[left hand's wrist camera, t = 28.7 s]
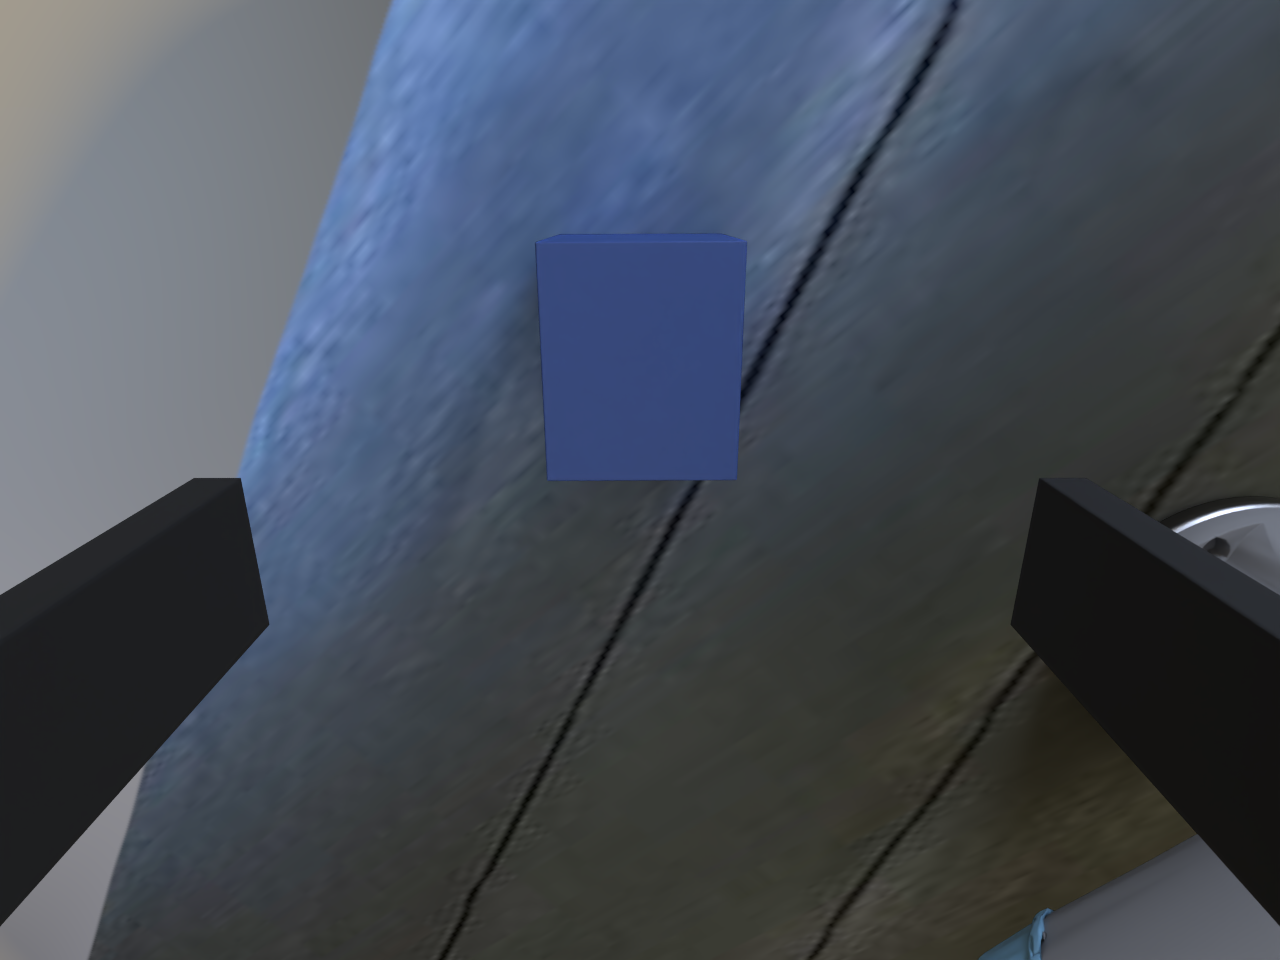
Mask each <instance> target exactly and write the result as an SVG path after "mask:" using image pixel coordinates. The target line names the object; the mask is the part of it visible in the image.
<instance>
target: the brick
mask: <svg viewBox="0 0 1280 960" xmlns="http://www.w3.org/2000/svg"><path fill="white" fill-rule="evenodd" d="M535 250H536V270H537V290H538V310H539V330H540V350H541V370H542V390H543V410H544V430H545V450H546V470H547V480H548V481H635V480H736V479H737V463H738V440H739V416H740V393H741V370H742V346H743V323H744V300H745V276H746V253H747V241H744V240H741V239H738V238H734V237H731V236H728V235H724V234H560V235H556V236H553V237H550V238H547V239H544V240H541V241H537V242H536V243H535Z"/></svg>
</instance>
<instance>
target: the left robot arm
mask: <svg viewBox="0 0 1280 960" xmlns="http://www.w3.org/2000/svg"><path fill="white" fill-rule="evenodd" d="M268 626H269V620H268V615H267V610H266V605H265V600H264V595H263V590H262V585H261V579H260V574H259V569H258V564H257V559H256V554H255V549H254V544H253V539H252V533H251V528H250V523H249V518H248V513H247V508H246V503H245V498H244V493H243V488H242V482H241V478H193V479H192V480H190V481H188V482H187V483H185V484H184V485H182V486H180V487H179V488H177V489H175V490H174V491H172V492H170V493H169V494H167V495H165V496H164V497H162V498H160V499H159V500H157V501H155V502H154V503H152V504H151V505H149V506H147V507H145V508H144V509H142V510H140V511H139V512H137V513H136V514H134V515H132V516H131V517H129V518H127V519H126V520H124V521H122V522H121V523H119V524H117V525H116V526H114V527H112V528H111V529H109V530H107V531H106V532H104V533H102V534H101V535H99V536H97V537H96V538H94V539H93V540H91V541H89V542H87V543H86V544H84V545H82V546H81V547H79V548H77V549H76V550H74V551H73V552H71V553H69V554H68V555H66V556H64V557H63V558H61V559H59V560H58V561H56V562H54V563H53V564H51V565H49V566H48V567H46V568H44V569H43V570H41V571H39V572H38V573H36V574H35V575H33V576H31V577H29V578H28V579H26V580H24V581H23V582H21V583H20V584H18V585H16V586H15V587H13V588H11V589H10V590H8V591H6V592H5V593H3V594H1V595H0V926H1V925H2V924H3V923H4V922H5V920H6V919H7V918H8V917H9V916H10V915H11V914H12V913H13V911H14V910H15V909H16V908H17V907H18V906H19V905H20V904H21V902H22V901H23V900H24V899H25V898H26V897H27V896H28V895H29V893H30V892H31V891H32V890H33V889H34V888H35V887H36V886H37V885H38V883H39V882H40V881H41V880H42V879H43V878H44V877H45V875H46V874H47V873H48V872H49V871H50V870H51V869H52V868H53V867H54V865H55V864H56V863H57V862H58V861H59V860H60V859H61V858H62V856H63V855H64V854H65V853H66V852H67V851H68V850H69V849H70V848H71V846H72V845H73V844H74V843H75V842H76V841H77V840H78V839H79V837H80V836H81V835H82V834H83V833H84V832H85V831H86V830H87V828H88V827H89V826H90V825H91V824H92V823H93V822H94V821H95V819H96V818H97V817H98V816H99V815H100V814H101V813H102V812H103V810H104V809H105V808H106V807H107V806H108V805H109V804H110V803H111V802H112V800H113V799H114V798H115V797H116V796H117V795H118V794H119V793H120V791H121V790H122V789H123V788H124V787H125V786H126V785H127V784H128V782H129V781H130V780H131V779H132V778H133V777H134V776H135V775H136V774H137V772H138V771H139V770H140V769H141V768H142V767H143V766H144V765H145V763H146V762H147V761H148V760H149V759H150V758H151V757H152V756H153V754H154V753H155V752H156V751H157V750H158V749H159V748H160V747H161V745H162V744H163V743H164V742H165V741H166V740H167V739H168V738H169V737H170V735H171V734H172V733H173V732H174V731H175V730H176V729H177V728H178V726H179V725H180V724H181V723H182V722H183V721H184V720H185V719H186V717H187V716H188V715H189V714H190V713H191V712H192V711H193V710H194V708H195V707H196V706H197V705H198V704H199V703H200V702H201V701H202V700H203V698H204V697H205V696H206V695H207V694H208V693H209V692H210V691H211V689H212V688H213V687H214V686H215V685H216V684H217V683H218V682H219V680H220V679H221V678H222V677H223V676H224V675H225V674H226V673H227V671H228V670H229V669H230V668H231V667H232V666H233V665H234V664H235V663H236V661H237V660H238V659H239V658H240V657H241V656H242V655H243V654H244V652H245V651H246V650H247V649H248V648H249V647H250V646H251V645H252V643H253V642H254V641H255V640H256V639H257V638H258V637H259V636H260V634H261V633H262V632H263V631H264V630H265V629H266V628H267V627H268ZM1011 626H1012V627H1013V628H1014V629H1015V630H1016V631H1017V632H1018V633H1019V634H1020V636H1021V637H1022V638H1023V639H1024V640H1025V641H1026V642H1027V643H1028V645H1029V646H1030V647H1031V648H1032V649H1033V650H1034V651H1035V652H1036V654H1037V655H1038V656H1039V657H1040V658H1041V659H1042V660H1043V661H1044V663H1045V664H1046V665H1047V666H1048V667H1049V668H1050V669H1051V670H1052V671H1053V673H1054V674H1055V675H1056V676H1057V677H1058V678H1059V679H1060V680H1061V682H1062V683H1063V684H1064V685H1065V686H1066V687H1067V688H1068V689H1069V691H1070V692H1071V693H1072V694H1073V695H1074V696H1075V697H1076V698H1077V700H1078V701H1079V702H1080V703H1081V704H1082V705H1083V706H1084V707H1085V708H1086V710H1087V711H1088V712H1089V713H1090V714H1091V715H1092V716H1093V717H1094V719H1095V720H1096V721H1097V722H1098V723H1099V724H1100V725H1101V726H1102V728H1103V729H1104V730H1105V731H1106V732H1107V733H1108V734H1109V735H1110V737H1111V738H1112V739H1113V740H1114V741H1115V742H1116V743H1117V744H1118V745H1119V747H1120V748H1121V749H1122V750H1123V751H1124V752H1125V753H1126V754H1127V756H1128V757H1129V758H1130V759H1131V760H1132V761H1133V762H1134V763H1135V765H1136V766H1137V767H1138V768H1139V769H1140V770H1141V771H1142V772H1143V774H1144V775H1145V776H1146V777H1147V778H1148V779H1149V780H1150V781H1151V782H1152V784H1153V785H1154V786H1155V787H1156V788H1157V789H1158V790H1159V791H1160V793H1161V794H1162V795H1163V796H1164V797H1165V798H1166V799H1167V800H1168V802H1169V803H1170V804H1171V805H1172V806H1173V807H1174V808H1175V809H1176V811H1177V812H1178V813H1179V814H1180V815H1181V816H1182V817H1183V818H1184V819H1185V821H1186V822H1187V823H1188V824H1189V825H1190V826H1191V827H1192V828H1193V830H1194V831H1195V832H1196V833H1197V834H1196V835H1194V836H1192V837H1190V838H1189V839H1187V840H1185V841H1183V842H1182V843H1180V844H1178V845H1176V846H1174V847H1173V848H1171V849H1169V850H1167V851H1165V852H1164V853H1162V854H1160V855H1158V856H1157V857H1155V858H1153V859H1151V860H1149V861H1148V862H1146V863H1144V864H1142V865H1140V866H1138V867H1137V868H1135V869H1133V870H1131V871H1129V872H1127V873H1125V874H1123V875H1122V876H1120V877H1118V878H1116V879H1114V880H1112V881H1110V882H1108V883H1106V884H1105V885H1103V886H1101V887H1099V888H1097V889H1095V890H1093V891H1091V892H1089V893H1088V894H1086V895H1084V896H1082V897H1080V898H1078V899H1076V900H1074V901H1072V902H1071V903H1069V904H1067V905H1065V906H1063V907H1061V908H1059V909H1057V910H1055V911H1054V910H1051V909H1049V908H1047V909H1044V910H1042V911H1040V912H1038V913H1037V914H1036V915H1035V917H1034V918H1033V921H1032V923H1031V924H1030V925H1028V926H1027V927H1025V928H1023V929H1022V930H1020V931H1019V932H1017V933H1015V934H1014V935H1012V936H1011V937H1009V938H1008V939H1006V940H1004V941H1003V942H1001V943H1000V944H998V945H996V946H995V947H993V948H992V949H990V950H989V951H987V952H985V953H984V954H983V955H982V956H981V957H979V959H978V960H1280V498H1272V497H1256V496H1249V497H1235V498H1228V499H1221V500H1217V501H1213V502H1208V503H1204V504H1201V505H1198V506H1195V507H1192V508H1189V509H1187V510H1184V511H1182V512H1179V513H1177V514H1175V515H1173V516H1171V517H1169V518H1167V519H1165V520H1163V521H1161V522H1158V521H1156V520H1154V519H1153V518H1151V517H1149V516H1148V515H1146V514H1145V513H1143V512H1141V511H1140V510H1138V509H1136V508H1135V507H1133V506H1131V505H1130V504H1128V503H1126V502H1125V501H1123V500H1121V499H1120V498H1118V497H1116V496H1115V495H1113V494H1111V493H1110V492H1108V491H1106V490H1105V489H1103V488H1101V487H1100V486H1098V485H1096V484H1095V483H1093V482H1092V481H1090V480H1088V479H1087V478H1039V482H1038V488H1037V493H1036V498H1035V503H1034V508H1033V513H1032V518H1031V523H1030V528H1029V533H1028V539H1027V544H1026V549H1025V554H1024V559H1023V564H1022V569H1021V574H1020V579H1019V585H1018V590H1017V595H1016V600H1015V605H1014V610H1013V615H1012V620H1011Z"/></svg>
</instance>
